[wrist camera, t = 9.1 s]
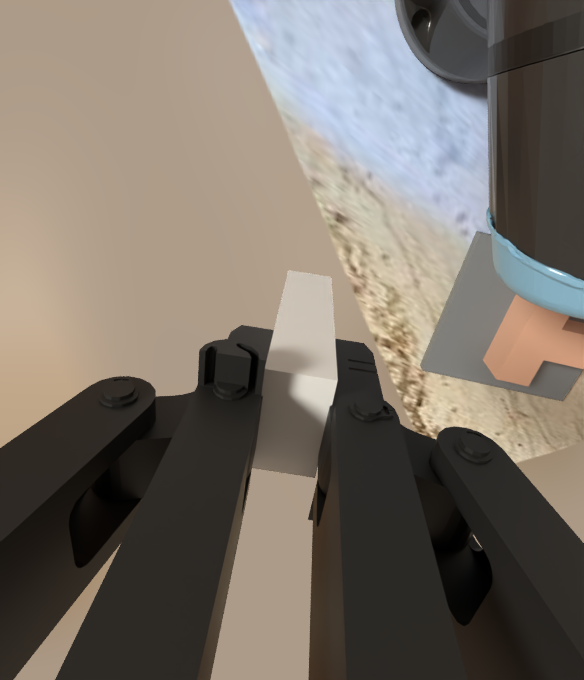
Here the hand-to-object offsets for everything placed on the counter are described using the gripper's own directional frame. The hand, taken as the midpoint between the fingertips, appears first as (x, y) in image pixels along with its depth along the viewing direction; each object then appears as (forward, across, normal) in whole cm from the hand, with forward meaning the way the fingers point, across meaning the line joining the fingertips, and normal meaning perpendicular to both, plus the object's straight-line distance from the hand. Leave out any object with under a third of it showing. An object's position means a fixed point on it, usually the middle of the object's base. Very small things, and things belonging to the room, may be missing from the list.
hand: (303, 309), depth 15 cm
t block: (+28, +27, -10) cm, 40 cm away
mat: (+29, +24, -10) cm, 39 cm away
